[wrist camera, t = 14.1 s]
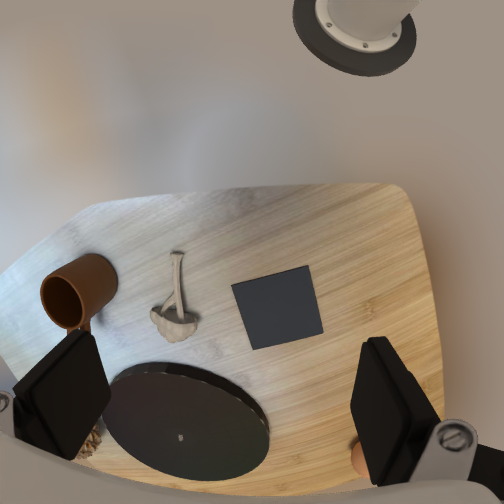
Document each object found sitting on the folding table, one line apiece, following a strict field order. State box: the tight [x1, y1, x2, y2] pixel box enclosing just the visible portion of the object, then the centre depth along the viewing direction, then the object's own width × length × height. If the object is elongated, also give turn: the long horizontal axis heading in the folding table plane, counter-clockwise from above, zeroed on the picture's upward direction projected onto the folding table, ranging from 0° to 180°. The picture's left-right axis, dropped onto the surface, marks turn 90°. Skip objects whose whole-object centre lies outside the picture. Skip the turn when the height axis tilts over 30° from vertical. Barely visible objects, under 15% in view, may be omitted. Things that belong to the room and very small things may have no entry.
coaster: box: [231, 265, 323, 350], centre depth 39 cm, size 10×10×1 cm
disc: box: [102, 363, 270, 481], centre depth 45 cm, size 30×30×3 cm
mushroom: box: [150, 253, 197, 343], centre depth 38 cm, size 7×5×12 cm
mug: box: [40, 254, 117, 335], centre depth 36 cm, size 12×8×9 cm, turn 176°
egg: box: [351, 441, 370, 479], centre depth 41 cm, size 7×7×9 cm
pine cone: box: [75, 423, 102, 459], centre depth 42 cm, size 22×10×10 cm, turn 7°
